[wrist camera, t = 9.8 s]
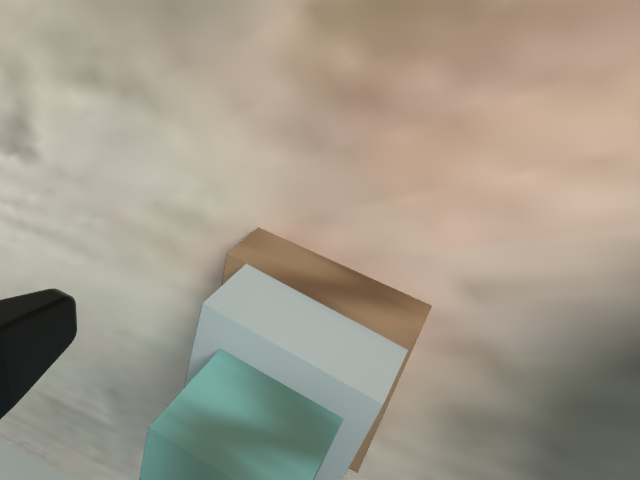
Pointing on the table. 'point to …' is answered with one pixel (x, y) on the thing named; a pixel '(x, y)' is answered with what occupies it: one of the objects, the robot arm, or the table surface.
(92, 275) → the table surface
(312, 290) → the walnut base block
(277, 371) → the slate-grey top block
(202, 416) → the teal cube
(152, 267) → the table surface
